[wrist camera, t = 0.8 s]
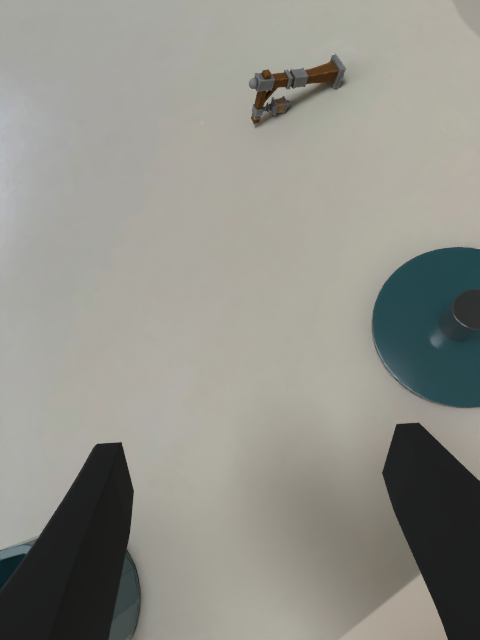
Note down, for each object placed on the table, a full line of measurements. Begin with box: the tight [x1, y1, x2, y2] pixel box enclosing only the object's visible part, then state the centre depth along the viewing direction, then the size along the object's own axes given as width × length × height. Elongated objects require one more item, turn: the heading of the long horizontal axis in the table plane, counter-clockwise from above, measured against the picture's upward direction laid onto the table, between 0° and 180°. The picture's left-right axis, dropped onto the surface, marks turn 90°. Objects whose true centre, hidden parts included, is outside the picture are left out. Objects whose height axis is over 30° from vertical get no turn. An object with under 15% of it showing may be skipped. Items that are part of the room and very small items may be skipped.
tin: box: [0, 535, 140, 640], centre depth 28 cm, size 10×10×6 cm
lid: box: [372, 247, 480, 408], centre depth 25 cm, size 11×11×5 cm
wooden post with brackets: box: [249, 54, 346, 123], centre depth 34 cm, size 2×8×4 cm, turn 113°
